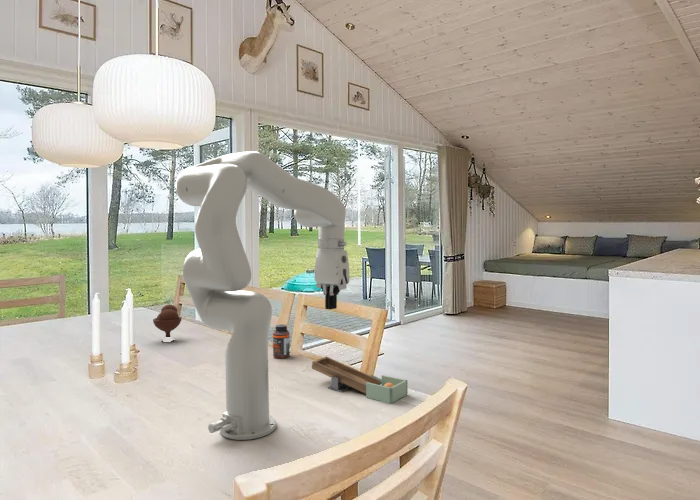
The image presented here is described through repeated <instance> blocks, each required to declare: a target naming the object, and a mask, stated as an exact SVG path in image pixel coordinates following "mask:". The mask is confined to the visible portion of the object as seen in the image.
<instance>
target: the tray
mask: <svg viewBox="0 0 700 500" xmlns="http://www.w3.org/2000/svg"><path fill="white" fill-rule="evenodd" d="M381 379H382V384H381V385H377V384H373V383H368V382H367V383H366V394H365V398H366V397H368V398H367V399H370V398H372V399H371V400H374V399H375V401H378V400H379V401H378V402H382V403H387V404H394V403H396V402H398V401H399V400H401V399H403V398H405V397H406V396H408V395H407V394H408V380H407V379H403V378H399V377H394V376H393V377H392V376H388V375H381ZM386 383H393V384H394V385H395V386H393V387H391V388H390V387H386V386H384V385H385V384H386ZM404 396H405V397H404Z"/></svg>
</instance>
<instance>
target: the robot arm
mask: <svg viewBox="0 0 700 500" xmlns="http://www.w3.org/2000/svg"><path fill="white" fill-rule="evenodd" d="M247 190H250V191H252V192H254V193H255V194H257V195H258V196H259V197H262V199H265V200H266V201H267V202H269V203H271V204H272V205H274V206H276V207H278V208H280V209H281V208H282V209H286V210H293V211H294V212H293V216H294V219H295V221H296V222H297V223H298V224H299V225H300V226H302V227H306V228H318V229H317V232H318V235H317V236H318V237H317V238H318V239H317V242H318V243H317V244H318V246H317V249H316V254H315V262H314V281H315V283H316V284H315V285H316V288H319V289H321V290H322V292H323V295H324V297H325V298H324V299H325V300H324V301H325V302H324V303H325V305H324V307H325V310H335V309H337V308H338V305H337V304H338V302H337V301H338V298H337V297H338V295H339V294H340V291H342V290H346V289H347V284H349V283H350V280H351V279H350V262H349V255H348V252H347V250H345V247H346V246H347V242H346V241H345V219H346V215H347V214H346V207H345V205H344V203H343V202H342V200H341V199H340V198H339V197H338V196H337V195H336V194H334V193H333V192H332V191H330V190H329V189H328V188H325V187H323V186H320V185H317V184H315V183H312V182H310V181H306V180H304V179H300V178H297V177H295V176H294V175H292V174H291V173H289V172H288V171H287V170H285V169H284V168H283V167H282V166H281V165H279V164H277V163H276V162H275V161H273V160H272V159H271V158H269V157H268V156H267V155H265V154H264V153H262V152H259V151H254V150H253V151H252V150H250V151H241V152H235V153H228V154H224V155H223V154H222V155H221V156H218V157H214V158H212V159H210V160H209V159H208V160H207V161H204V162H201V163H199V164H195V165H192V166H190V167H187V168H185V169H183V170H182V171H181V172H180V173H179V174H178V176H177V178H176V181H175V191H176V194H177V196H178V198H179V199H180V200H181V201H182V202H183V203H184V204H186V205H188V206H192V207H199V209H198V213H197V216H196V219H195V224H194V233H195V237H196V240H197V243H198V247H199V248H196V249H194V250H192V251H191V252H189V253H188V255H187V256H186V257H185V259H184V262H183V267H182V277H183V281H184V283H185V286H186V288H187V291H188V293H189V296H190V298H191V300H192V303H193V304H194V308H195V309H196V312H197V314H198V316H199V318H200V320H201V321H202V323H203V324H204V325H205V326H207V327H208V328H210V329H214V330H218V331H224V332H225V331H227V332H231V337H230V339H229V341H228V343H227V345H226V347H225V348H226V349H225V353H224V354H225V355H224V357H225V358H224V359H225V360H224V361H225V363H224V364H225V366H224V367H225V399H226V400H225V401H226V404H225V405H226V411H224V412H223V413H222V417H221V418H220V419H219V421H214V422H212V423H209V424H208V426H207V429H208V432H209V434H210V433H211V434H214V433H217V432H218V431H219V433H220V435H222V436H223V437H225V438H227V439H230V440H237V441H247V440H255V439H258V438H262V437H266V436H267V435H269V434H270V433H272V432H274V430H275V429H276V427H277V420H276V418H275V417H274V416H272V415H270V391H269V390H270V387H269V386H270V384H269V382H270V381H269V335H270V327H271V324H272V323H271V321H272V315H273V309H272V304H271V302H270V300H269V299H268V297H266V296H265V295H264V294H262V293H260V292H257V291H252V290H244V289H245V288H247V287H248V286H249V284H251V283H250V282H251V280H252V270H251V266H250V262H249V259H248V257H247V254H246V251H245V248H244V246H243V242H242V240H241V237H240V234H239V231H238V227H237V215H238V212H239V207H240V205H241V204H242V202H243V199H244V197H245V194H246V192H247Z"/></svg>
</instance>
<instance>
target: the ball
mask: <svg viewBox="0 0 700 500" xmlns="http://www.w3.org/2000/svg"><path fill="white" fill-rule="evenodd" d="M384 386H386V387H390V388H391V387H393V386H395V385H394V384H393V383H386V384H385V385H384Z"/></svg>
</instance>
